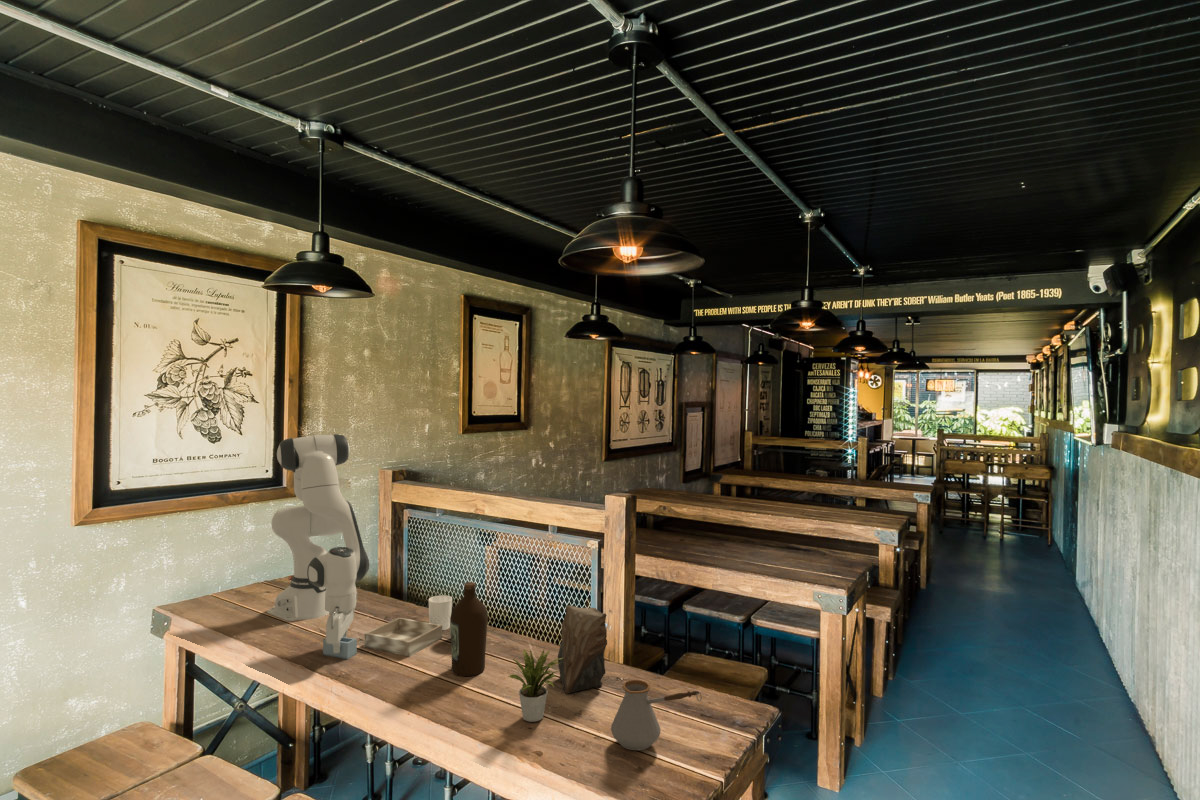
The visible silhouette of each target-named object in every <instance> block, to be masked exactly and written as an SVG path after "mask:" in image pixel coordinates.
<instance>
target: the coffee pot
mask: <svg viewBox="0 0 1200 800" xmlns="http://www.w3.org/2000/svg"><path fill="white" fill-rule="evenodd" d="M622 689H623V690H624V696H623V698H622V701H621V703H620V705H619V707H618V710H617V712H616V713H615V716H614V718H613V720H612V722H611V726H610V730H611V734H612V736H613V738H614V740H616V742H617V743H619V744H620V746H621V747H623V748H624V749H626V750H631V751H643V750H646V749H649V748H650V747H651V746H652V745H653V744H654V743H656V742H657V740H658V739H659V737H660V735H661V726H660V724H659V721H658V718H657V716H656V714H655V712H654V709H653V706H652V704H656V703H660V702H665V701H666V702H667V701H674V700H675V701H676V700H682V699H684V698H687V697H688V698H691V697H693V696H696V700H697V701H698V702H701V701H702V694H701V692H700V691H699V690H693V691H690V690H688V691H687V692H677V693H674V694H670V695H665V696H663V697H662V696H661V697H655V698H649V695H648V693H649V691H650V690H651V685H650V683H648V682H647V681H645V680H642V679H629V680H626V681H625V682H623V684H622ZM698 695H700V700H699V698H698Z"/></svg>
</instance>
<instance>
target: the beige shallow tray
mask: <svg viewBox="0 0 1200 800" xmlns="http://www.w3.org/2000/svg"><path fill="white" fill-rule="evenodd" d="M442 639H443V630H442V625H438V624H432V623H430V622H428V621H427V622H425V621H420V620H416V619H409V618H404V617H397V618H396V619H395V618H394V619H393V620H391V621H389V622H387V623H384V624H382V625H380V626H378V627H376V628H373V629H371V630H369V631H367V632H364V642H363V643H364V648H368V649H374V650H377V651H378V650H379V651H381V652H382V651H383V652H386V653H391V654H396V655H401V656H405V657H409V658H410V657H412V656H413V655H415V654H417V653H419V652H422V650H424V649H426V648H428V647H430V646H431V645H433V644H435V643H437V642H439V641H440V640H442Z"/></svg>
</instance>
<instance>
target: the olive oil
mask: <svg viewBox="0 0 1200 800" xmlns="http://www.w3.org/2000/svg"><path fill="white" fill-rule="evenodd" d="M463 586H464V587H463V597H462V598H461V599H460V600H459V601H458V602H457V603H456V604H455V606H453V607H452V611H451V618H450V623H451V636H450V641H451V642H450V643H451V644H450V645H451V650H450V651H451V672H452V674H454V675H456V676H459V677H473V676H476V675H479V674H481V673H483V672H484V670H485V669H486V652H487V651H486V650H487V649H486V648H487V636H488V635H487V634H488V617H489V615H488V614H489V613H488V610H487V608H486V606H485V604H484V603H483V602H482V601H481V600H480V599H479V598H478V597H477V596H476V583H475V582H472V581H468V582H465V583H464V584H463Z"/></svg>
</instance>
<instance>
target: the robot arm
mask: <svg viewBox="0 0 1200 800" xmlns="http://www.w3.org/2000/svg"><path fill="white" fill-rule="evenodd" d="M350 451H351V447H350V444H349V441H348V439H347V437H345V435H343V434H339V433H337V434H335V433H334V434H313V435H307V436H300V437H294V438H293V437H290V438H286V439H283V440H282V441H280V443H279V444H278V448H277V451H276V459H277V462H278V463H279V464H280V467H281V468H283V469H284V470H285V471H292V473H293V492H294V495H295V496H296V498H298V499H299V500H300V501H301V502H302V503H303V505H298V506H297V505H295V506H286V507H283V508H280V509H278V510H276V511H275V513H274V514H273V516H272V518H271V522H270V523H271V528H272V531H273V533H274V535H275V536H277V537H279V538H281V539H282V540H283V541H284V542H285V543H286V544H287V545H288V547H289V548H290V551H291V553H292V557H293V558H292V559H293V575H292V576H288V577H287V578H288V579H287V581H290V583H289V585H288V587H286V588H285V589H284V590H283V591H281V592H280V593H278V594H277V595H276V597H275V601H274V606H273V607H272V608H269V609H268V610H267V614H269V615H271V616H274V617H277V618H279V619H282V620H284V621H287V622H295V621H306V620H307V619H308V620H314V619H320V618H323V617H326V616H328V615H329V616H328V617H327V620H326V624H325V625H326V628H325V638H326V644H333V652H334V653H339V652H340V650H341V645H340V641H341V639H342V637H347V635H348V629H349V627H350V626H351V625H352V623H353V620H354V617H355V611H356V610H355V609H356V608H357V600H358V592H357V587H356V582H359V581H362V580H363V578H364V577H366V575H367V573H368V572H369V570H370V560H369V559H370V558H369V557H368V554H367V552H366V549H365V547H364V544H363V541H362V540H363V539H362V536H361V534H360V529H359V525H358V521H357V517H356V515H355V511H354V507H353V506H352V504H351V503H350V502H349V500H346V499H345V498H344V495H342V492H341V489H340V482H339V475H338V470H337V467H336V466H340V465H342V464H345V463H346V462H347V461H348V460H349V456H350V453H351V452H350ZM336 534H342V537H343V540H344V544H345V546H337V547H333V548H330V549H329V550H328V551H327V550H326V549H325V548H324V547H322V546H321V545H318V544H316V543H314V542H312V541H311V540H310V537H324V536H334V535H336ZM325 615H326V616H325ZM322 616H323V617H322ZM319 617H320V618H319Z"/></svg>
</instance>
